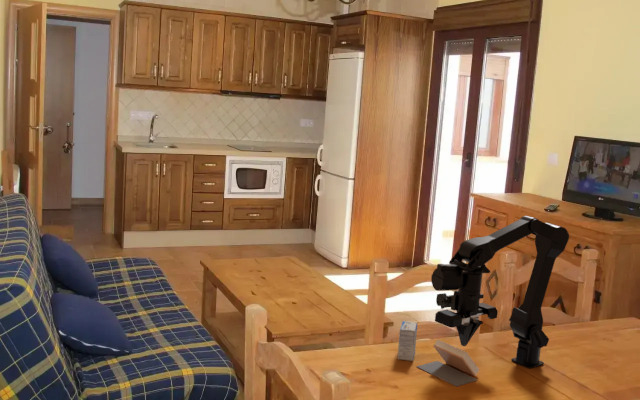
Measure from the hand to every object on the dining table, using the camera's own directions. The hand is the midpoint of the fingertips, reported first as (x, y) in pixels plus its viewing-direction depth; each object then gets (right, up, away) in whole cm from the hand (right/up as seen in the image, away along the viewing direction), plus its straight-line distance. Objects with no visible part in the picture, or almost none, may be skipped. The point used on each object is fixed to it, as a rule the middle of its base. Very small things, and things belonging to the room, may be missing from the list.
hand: (463, 345), depth 182 cm
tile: (0, -6, +1) cm, 6 cm away
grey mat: (-5, -7, -3) cm, 9 cm away
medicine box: (-14, -5, +8) cm, 17 cm away
